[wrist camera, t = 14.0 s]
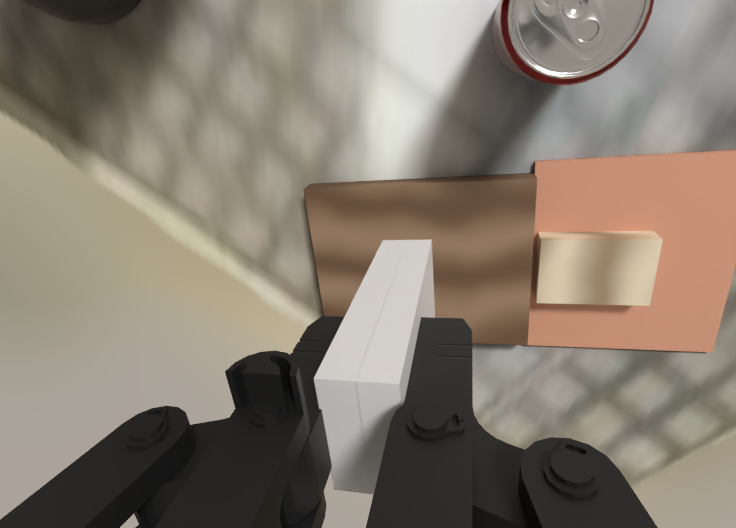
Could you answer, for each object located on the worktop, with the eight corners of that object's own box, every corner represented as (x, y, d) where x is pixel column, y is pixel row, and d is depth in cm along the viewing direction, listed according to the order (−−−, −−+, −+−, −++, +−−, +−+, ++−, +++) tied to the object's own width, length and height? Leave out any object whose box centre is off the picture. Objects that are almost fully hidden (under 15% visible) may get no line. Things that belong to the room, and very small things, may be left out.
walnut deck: (310, 183, 41) (303, 189, 39) (534, 173, 36) (537, 178, 35) (332, 327, 48) (327, 337, 46) (525, 333, 43) (527, 345, 41)
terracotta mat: (534, 161, 36) (535, 162, 36) (762, 148, 32) (766, 149, 32) (524, 342, 43) (525, 344, 43) (709, 349, 40) (712, 352, 39)
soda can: (475, 6, 32) (477, -22, 22) (574, -58, 30) (632, -125, 19) (513, 96, 34) (532, 111, 24) (610, 44, 32) (680, 35, 21)
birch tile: (533, 292, 40) (536, 303, 39) (537, 232, 38) (541, 240, 36) (641, 294, 38) (649, 305, 37) (653, 230, 36) (662, 239, 34)
